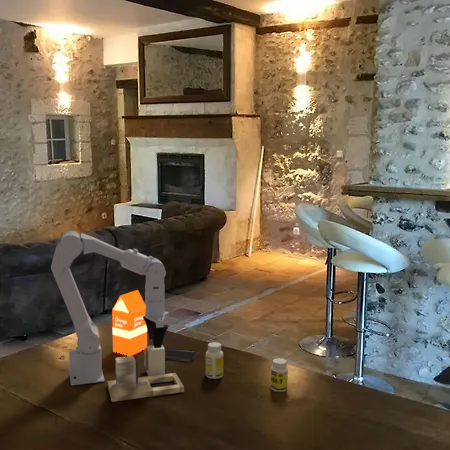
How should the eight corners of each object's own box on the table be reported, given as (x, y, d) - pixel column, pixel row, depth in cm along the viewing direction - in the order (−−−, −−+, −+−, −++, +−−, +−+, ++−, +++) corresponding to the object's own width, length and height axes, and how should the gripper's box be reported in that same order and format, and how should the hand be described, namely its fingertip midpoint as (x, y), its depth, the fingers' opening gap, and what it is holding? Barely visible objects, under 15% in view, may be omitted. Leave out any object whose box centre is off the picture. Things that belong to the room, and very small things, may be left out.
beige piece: (112, 401, 147) (111, 368, 146) (107, 386, 156) (106, 354, 155) (183, 391, 153) (183, 359, 152) (175, 377, 163) (175, 347, 161)
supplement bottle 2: (267, 390, 155) (268, 361, 154) (274, 383, 159) (275, 356, 158) (283, 393, 153) (284, 365, 152) (289, 387, 157) (290, 359, 156)
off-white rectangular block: (146, 376, 163) (146, 350, 162) (144, 371, 167) (143, 346, 166) (164, 374, 165) (164, 348, 164) (162, 368, 169) (162, 344, 168)
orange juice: (147, 348, 186) (147, 291, 183) (130, 356, 178) (129, 297, 175) (130, 343, 190) (129, 287, 187) (112, 351, 182) (111, 293, 179)
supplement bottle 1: (224, 372, 167) (224, 341, 165) (222, 379, 162) (222, 348, 160) (206, 371, 167) (206, 340, 166) (204, 378, 162) (204, 347, 161)
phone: (156, 346, 185) (199, 350, 182) (156, 350, 185) (199, 354, 182) (148, 355, 177) (192, 360, 174) (148, 358, 178) (192, 363, 174)
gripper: (173, 305, 157) (173, 350, 159) (162, 292, 171) (163, 333, 173) (149, 307, 155) (149, 352, 157) (140, 293, 169) (141, 335, 171)
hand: (155, 343), depth 165 cm, fingers open, 7 cm apart
